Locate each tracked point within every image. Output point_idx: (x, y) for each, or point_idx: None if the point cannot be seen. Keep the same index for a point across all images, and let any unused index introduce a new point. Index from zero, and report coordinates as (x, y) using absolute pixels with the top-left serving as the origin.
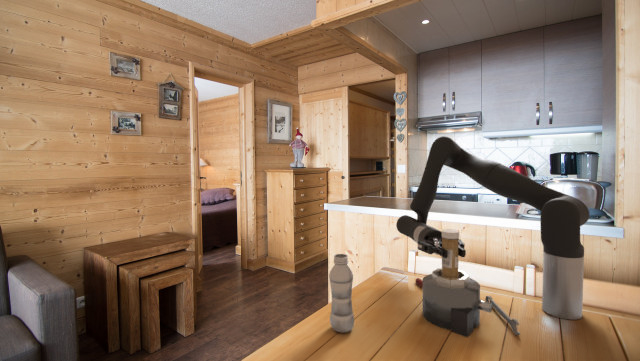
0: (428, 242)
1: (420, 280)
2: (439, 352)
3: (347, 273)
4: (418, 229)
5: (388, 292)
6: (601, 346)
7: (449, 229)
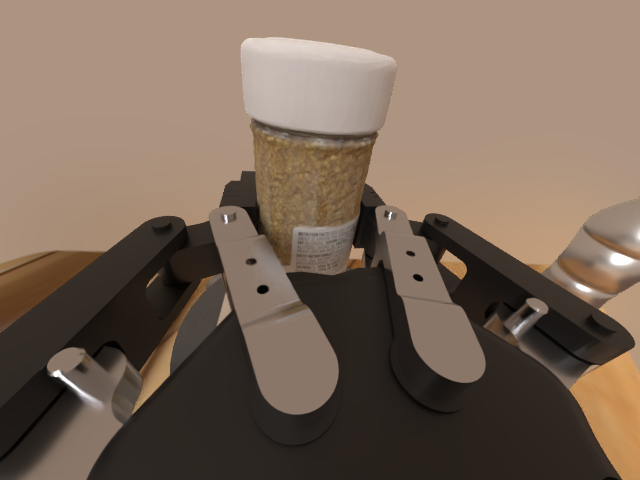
0: (494, 334)
1: None
2: (350, 263)
3: (607, 208)
4: None
5: None
6: (57, 268)
7: (316, 43)
